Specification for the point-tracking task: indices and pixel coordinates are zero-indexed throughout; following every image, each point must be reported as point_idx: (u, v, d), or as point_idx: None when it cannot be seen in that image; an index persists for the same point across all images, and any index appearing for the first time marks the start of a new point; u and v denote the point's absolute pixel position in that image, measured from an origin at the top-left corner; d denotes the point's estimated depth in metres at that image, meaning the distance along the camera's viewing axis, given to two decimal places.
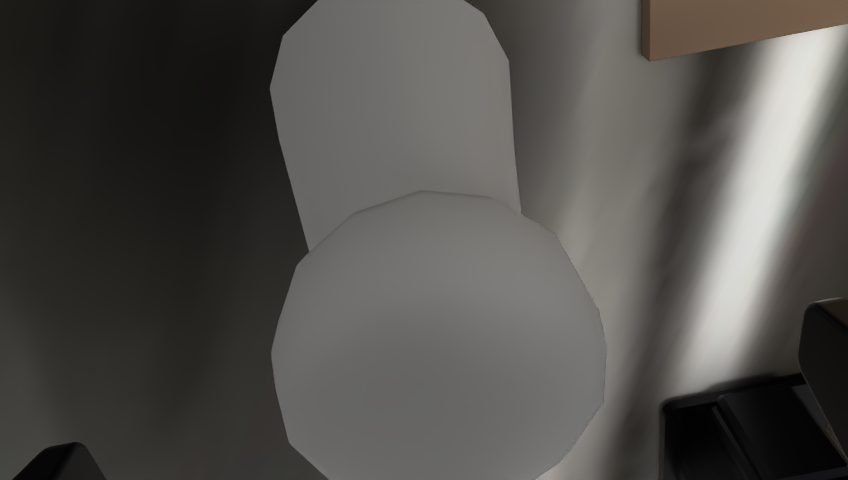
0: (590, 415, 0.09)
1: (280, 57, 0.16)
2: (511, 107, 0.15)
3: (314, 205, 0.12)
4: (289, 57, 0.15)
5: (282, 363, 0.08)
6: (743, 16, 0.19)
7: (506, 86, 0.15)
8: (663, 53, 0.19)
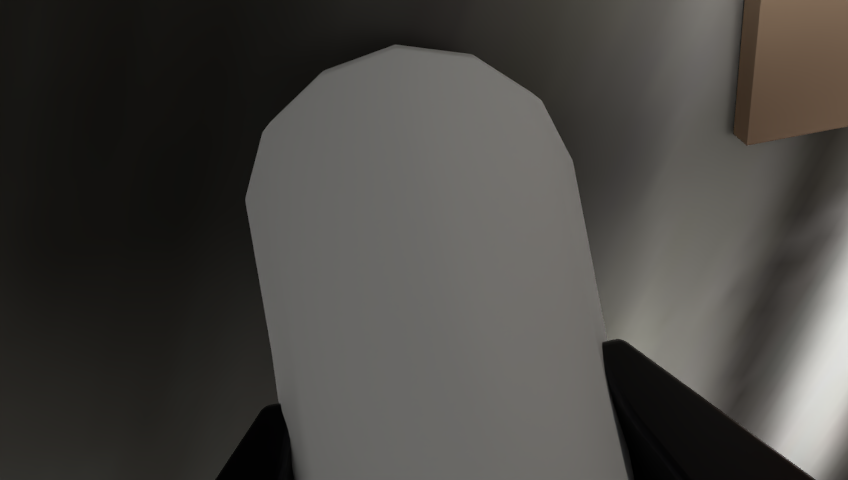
0: None
1: (258, 162, 0.12)
2: (589, 249, 0.10)
3: (301, 466, 0.07)
4: (270, 172, 0.11)
5: None
6: None
7: (579, 212, 0.11)
8: (765, 135, 0.15)
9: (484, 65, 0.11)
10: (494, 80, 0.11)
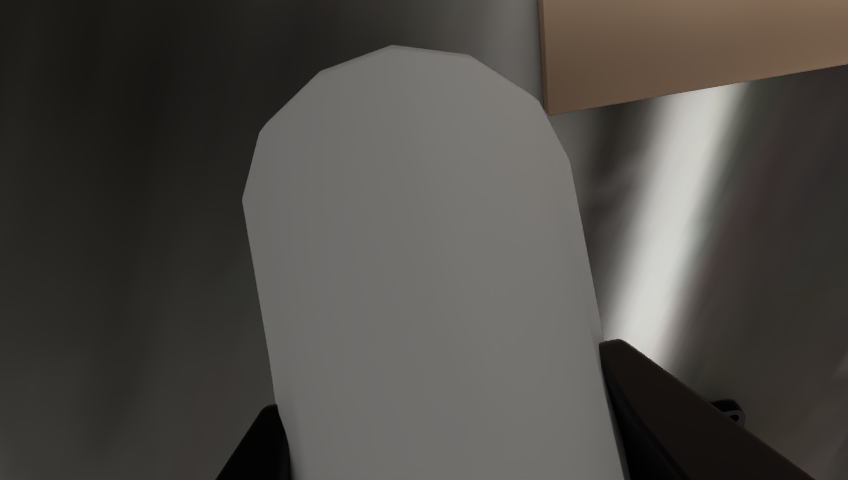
0: None
1: (255, 163, 0.12)
2: None
3: (298, 466, 0.07)
4: (267, 172, 0.11)
5: None
6: (635, 75, 0.20)
7: (575, 212, 0.11)
8: (561, 108, 0.20)
9: (481, 65, 0.11)
10: (490, 80, 0.11)
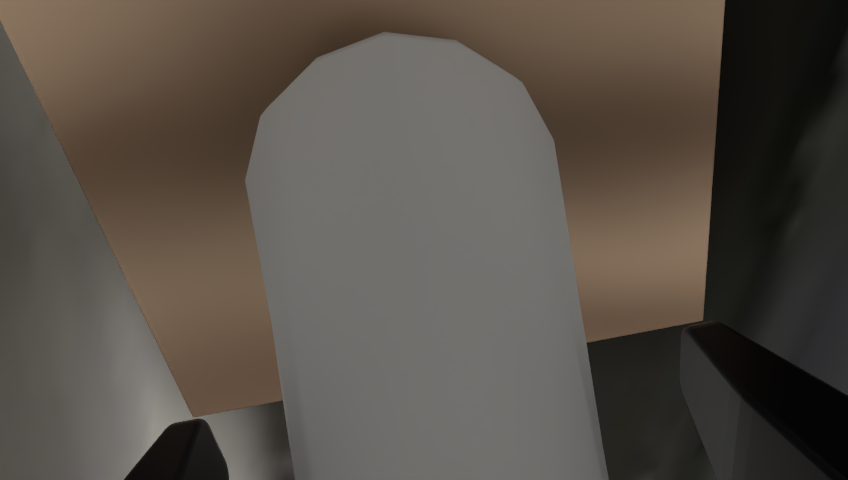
0: None
1: (257, 144, 0.12)
2: (566, 219, 0.11)
3: (295, 409, 0.08)
4: (268, 151, 0.11)
5: None
6: (276, 380, 0.19)
7: (557, 186, 0.11)
8: (205, 410, 0.19)
9: (467, 50, 0.12)
10: (476, 63, 0.12)
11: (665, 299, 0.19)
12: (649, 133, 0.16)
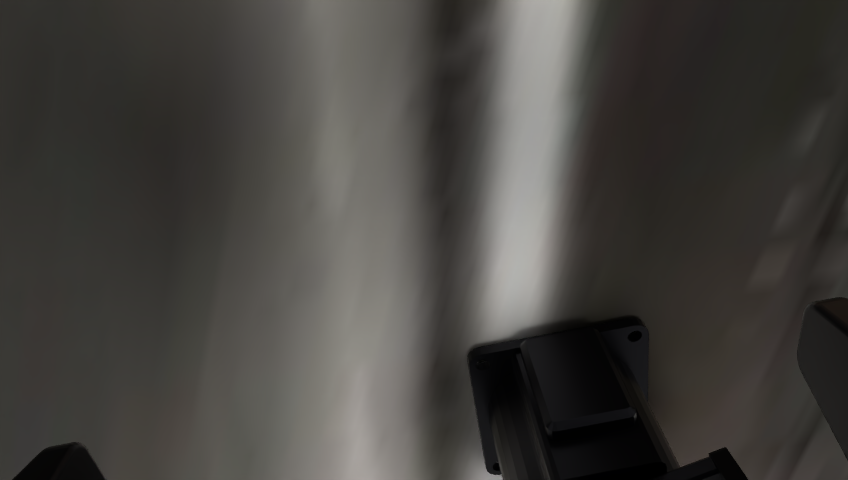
0: None
1: None
2: None
3: None
4: None
5: None
6: None
7: None
8: None
9: None
10: None
11: None
12: None
